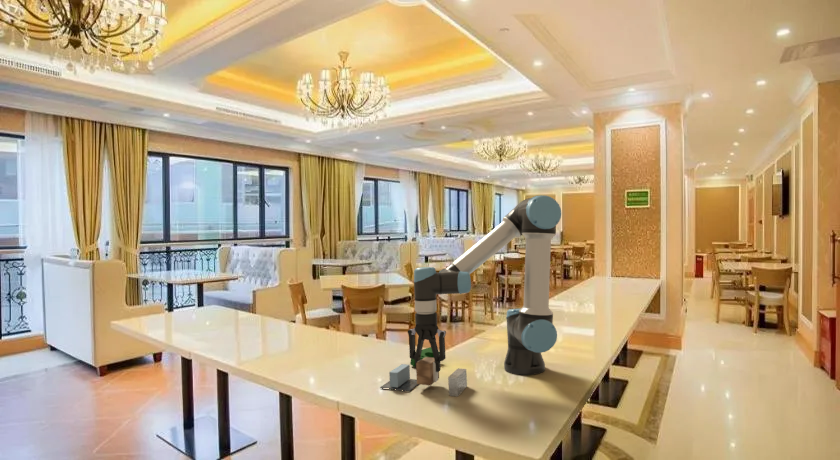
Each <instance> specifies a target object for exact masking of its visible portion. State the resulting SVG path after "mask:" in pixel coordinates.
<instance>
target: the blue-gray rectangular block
mask: <svg viewBox="0 0 840 460" xmlns="http://www.w3.org/2000/svg"><path fill="white" fill-rule="evenodd" d="M410 373H411V372H410V364H405V363H401V364H400V365H399V366H397V367H395V368H393V369H392V370H390V371H389V373H388V374H389V381H390V387H397V388H398V387H399V386H401V385H402V384H403V383H405V382H406V381H407V380H409V379H411V374H410Z"/></svg>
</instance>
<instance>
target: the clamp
mask: <svg viewBox="0 0 840 460" xmlns="http://www.w3.org/2000/svg"><path fill="white" fill-rule="evenodd" d="M425 357H431V358H434V356H433V352H432V349H431V346H430V347H426V348H422V352H421V357H420V359H423V358H425ZM409 365H411V366H412V367H414V368H415V360H414V359H411V358H410V364H409Z"/></svg>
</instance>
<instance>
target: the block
mask: <svg viewBox="0 0 840 460" xmlns="http://www.w3.org/2000/svg"><path fill="white" fill-rule="evenodd" d="M433 362H435V360H434V358H431V357H425V358H423V359H422V360H420V361H419V362H417V363H416V369H415V371H416V372H415V373H416V380H417V384H419V385H423V386H429V387H430V386H432V385H433V384H434V383H435V382H433ZM439 379H440V371H439V372H438V380H439Z"/></svg>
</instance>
